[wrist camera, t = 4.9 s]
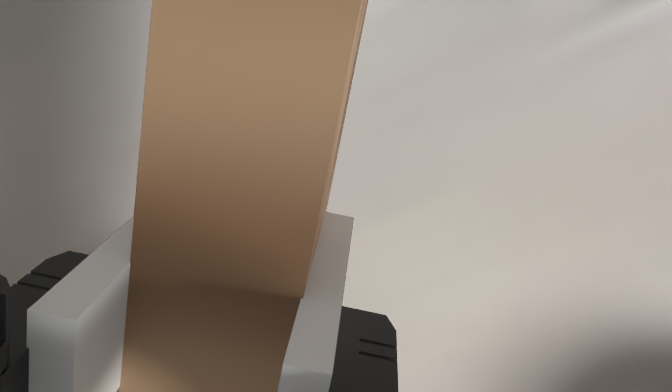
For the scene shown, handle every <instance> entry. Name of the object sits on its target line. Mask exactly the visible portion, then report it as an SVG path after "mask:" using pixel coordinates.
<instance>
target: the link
mask: <svg viewBox="0 0 672 392" xmlns="http://www.w3.org/2000/svg"><path fill="white" fill-rule="evenodd" d="M367 3H368V0H153V1H152V13H151V24H150V36H149V47H148V59H147V70H146V82H145V93H144V105H143V117H142V128H141V140H140V151H139V163H138V174H137V186H136V197H135V209H134V221H133V232H132V244H131V255H130V274H129V286H128V297H127V309H126V321H125V332H124V344H123V355H122V367H121V379H120V387H119V392H278V387H279V382H280V376H281V371H282V366H283V362H284V358H285V354H286V351H287V347H288V343H289V340H290V336H291V333H292V329H293V325H294V322H295V318H296V314H297V311H298V307H299V304H300V300H301V298H302V299H303V296H304V292H305V289H306V285H307V281H308V277H309V273H310V269H311V266H312V262H313V258H314V254H315V250H316V246H317V243H318V239H319V235H320V231H321V227H322V223H323V220H324V216H325V212H326V209H327V204H328V199H329V194H330V189H331V184H332V179H333V174H334V169H335V164H336V159H337V154H338V149H339V144H340V139H341V134H342V129H343V124H344V119H345V114H346V109H347V104H348V99H349V94H350V89H351V84H352V79H353V74H354V69H355V64H356V59H357V54H358V49H359V44H360V39H361V34H362V29H363V24H364V19H365V14H366V9H367Z"/></svg>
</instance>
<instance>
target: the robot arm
mask: <svg viewBox="0 0 672 392" xmlns="http://www.w3.org/2000/svg"><path fill="white" fill-rule="evenodd" d="M353 220H354V218H353V217H348V216H343V215H339V214H334V213H329V212H325V216H324V220H323V223H322V227H321V231H320V235H319V239H318V243H317V246H316V250H315V254H314V258H313V262H312V266H311V269H310V273H309V277H308V281H307V285H306V289H305V292H304V296H303V299H302V298H301V300H300V304H299V307H298V311H297V314H296V318H295V322H294V325H293V329H292V333H291V336H290V340H289V343H288V347H287V351H286V354H285V358H284V362H283V366H282V371H281V376H280V382H279V387H278V392H398V371H397V349H396V347H397V343H396V330H395V328H394V327H393V325H392V324H391V322H390V321H389V319H388V318H387V316H386V315H382V314H377V313H372V312H368V311H363V310H358V309H353V308H349V307H344V306H342V301H343V293H344V286H345V279H346V271H347V264H348V257H349V250H350V242H351V235H352V228H353ZM133 221H134V216H133V217H132V218H131V219H130V220H129V221H128V222H126V223H125V224H124V225H123V226H122V227H121V228H120V229H119V230H117V231H116V232H115V233H114V234H113V235H112V236H111V237H109V238H108V239H107V240H106V241H105V242H104V243H103V244H101V245H100V246H99V247H98V248H97V249H96V250H95V251H94V252H92V253H91V254H90V255H86V254H82V253H77V252H72V251H68V252H65V253H62V254H59V255H57V256H54V257H51V258H49V259H46V260H45V261H44V262H42V263H41V264H40V265H38V266H37V267H36V268H35V269H33V270H32V271H31V273H30V274H27V275H26V276H24V277H23V278H22V279H20V280H19V281H18V283H17V284H14V285H13V286H11V287H10V286H9V283H8V281H7V279H6V278H5V277H4V276H2V275H0V392H116V391H117V390H118V388H119V387H120V379H121V367H122V355H123V344H124V332H125V321H126V309H127V297H128V286H129V274H130V255H131V244H132V232H133Z"/></svg>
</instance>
